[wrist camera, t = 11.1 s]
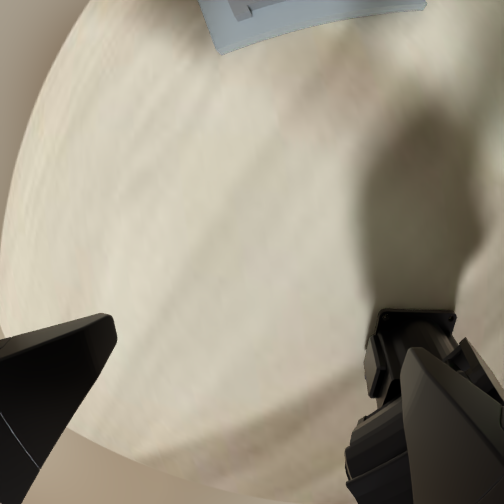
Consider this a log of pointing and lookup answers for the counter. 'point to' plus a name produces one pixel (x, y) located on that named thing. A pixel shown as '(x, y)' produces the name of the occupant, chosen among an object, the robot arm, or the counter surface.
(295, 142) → the counter surface
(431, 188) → the counter surface
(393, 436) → the robot arm
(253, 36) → the base plate
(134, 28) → the counter surface
